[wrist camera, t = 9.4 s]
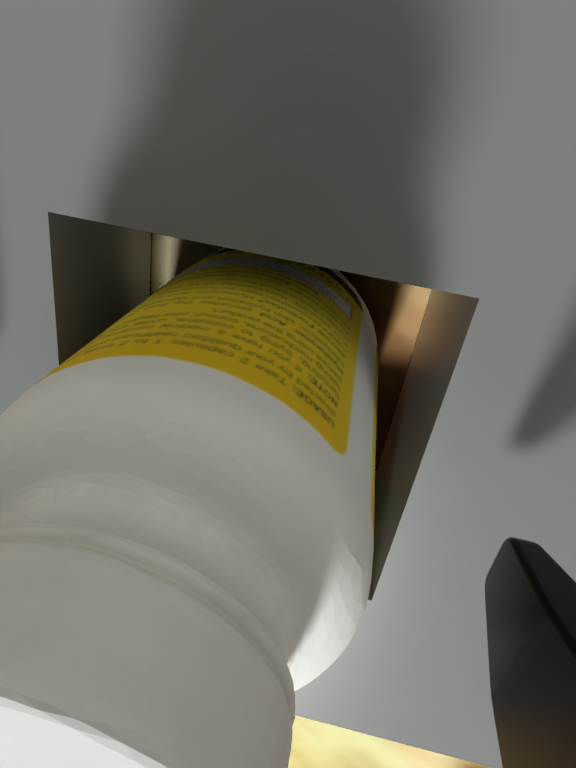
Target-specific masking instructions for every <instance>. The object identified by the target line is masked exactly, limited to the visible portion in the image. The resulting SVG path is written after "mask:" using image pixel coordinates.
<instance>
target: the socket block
mask: <svg viewBox="0 0 576 768" xmlns="http://www.w3.org/2000/svg"><path fill="white" fill-rule="evenodd" d="M151 233H156V234H161V235H166V236H171V237H176V238H181V239H186V240H191V241H196V242H201V243H206V244H211V245H216V246H221V247H226V248H230V249H235V250H240V251H245V252H250V253H255V254H260V255H265V256H270V257H275V258H280V259H285V260H290V261H295V262H300V263H305V264H310V265H315V266H320V267H325V268H330V269H335V270H340V271H345V272H350V273H355V274H360V275H365V276H370V277H375V278H380V279H385V280H390V281H395V282H400V283H405V284H410V285H415V286H420V287H425V288H430V289H432V292H431V295H430V298H429V302H428V305H427V308H426V312H425V315H424V318H423V321H422V325H421V328H420V331H419V334H418V338H417V341H416V344H415V347H414V351H413V354H412V357H411V360H410V364H409V367H408V370H407V373H406V377H405V380H404V383H403V387H402V390H401V393H400V396H399V400H398V403H397V406H396V409H395V413H394V416H393V419H392V422H391V426H390V429H389V432H388V435H387V439H386V442H385V445H384V448H383V452H382V455H381V458H380V462H379V465H378V468H377V471H376V475H375V497H374V551H373V563H372V579H371V585H370V591H369V597H368V601H367V605H366V609H365V611H364V614H363V617H362V619H361V622H360V624H359V626H358V628H357V630H356V632H355V633H354V635H353V637H352V639H351V641H350V643H349V644H348V646H347V647H346V648H345V650H344V651H343V652H342V653H341V655H340V656H339V657H338V658H337V659H336V660H335V661H334V662H333V663H332V664H331V666H329V667H328V668H327V669H326V670H325V671H324V672H323V673H321V674H320V675H319V676H318V677H316V678H315V679H314V680H313V681H311V682H310V683H308V684H306V685H305V686H303V687H301V688H300V689H298V690H296V691H294V692H295V715H297V716H301V717H304V718H308V719H312V720H316V721H319V722H323V723H327V724H331V725H334V726H338V727H342V728H346V729H350V730H353V731H357V732H361V733H365V734H368V735H372V736H376V737H380V738H383V739H387V740H391V741H395V742H398V743H402V744H406V745H410V746H413V747H417V748H421V749H425V750H428V751H432V752H436V753H440V754H443V755H447V756H451V757H455V758H459V759H462V760H466V761H470V762H474V763H477V764H481V765H485V766H489V767H492V768H502V762H501V756H500V750H499V744H498V738H497V732H496V726H495V720H494V714H493V707H492V700H491V691H490V679H489V662H488V645H487V628H486V611H485V594H484V586H485V579H486V576H487V573H488V571H489V569H490V567H491V565H492V563H493V561H494V559H495V557H496V555H497V553H498V551H499V549H500V547H501V545H502V543H503V542H504V541H505V540H506V539H507V538H510V537H514V538H519V539H523V540H527V541H532V542H535V543H537V544H539V545H540V546H541V547H542V548H543V549H544V550H545V551H546V552H547V553H548V554H549V555H550V556H551V557H552V558H553V559H554V560H555V561H556V562H557V563H558V564H559V565H560V566H561V567H562V568H563V569H564V570H565V572H566V573H567V574H568V575H569V576H570V577H571V578H572V579H573V580H574V581H575V582H576V0H0V415H1V414H2V413H3V412H4V411H5V409H7V408H8V407H9V406H10V405H11V404H12V403H13V402H15V401H16V400H17V399H18V398H19V397H20V396H21V395H22V394H23V393H24V392H26V391H27V390H28V389H29V388H31V387H32V386H33V385H34V384H36V383H37V382H38V381H40V380H41V379H42V378H43V377H45V376H46V375H47V374H49V373H50V372H51V371H52V370H54V369H55V368H56V367H58V366H59V365H60V364H62V363H63V362H64V361H66V360H67V359H68V358H70V357H71V356H72V355H74V354H75V353H76V352H78V351H79V350H80V349H82V348H83V347H84V346H86V345H87V344H88V343H90V342H91V341H92V340H94V339H95V338H96V337H97V336H99V335H100V334H101V333H103V332H104V331H105V330H107V329H108V328H109V327H110V326H112V325H113V324H114V323H116V322H117V321H118V320H120V319H121V318H122V317H124V316H125V315H126V314H127V313H129V312H130V311H131V310H133V309H134V308H135V307H137V306H138V305H139V304H141V303H142V302H143V301H145V300H146V299H147V298H148V297H150V265H151Z"/></svg>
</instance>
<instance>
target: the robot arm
mask: <svg viewBox="0 0 576 768" xmlns="http://www.w3.org/2000/svg"><path fill="white" fill-rule="evenodd" d="M484 594H485V611H486V628H487V645H488V662H489V679H490V691H491V700H492V707H493V714H494V720H495V726H496V732H497V738H498V744H499V750H500V756H501V762H502V768H576V582H575V581H574V580H573V579H572V578H571V577H570V576H569V575H568V574H567V573H566V572H565V570H564V569H563V568H562V567H561V566H560V565H559V564H558V563H557V562H556V561H555V560H554V559H553V558H552V557H551V556H550V555H549V554H548V553H547V552H546V551H545V550H544V549H543V548H542V547H541V546H540V545H539V544H537V543H535V542H532V541H527V540H523V539H519V538H514V537H510V538H507V539H506V540H505V541H504V542H503V543H502V545H501V547H500V549H499V551H498V553H497V555H496V557H495V559H494V561H493V563H492V565H491V567H490V569H489V571H488V573H487V576H486V579H485V586H484Z"/></svg>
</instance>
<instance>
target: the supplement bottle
mask: <svg viewBox="0 0 576 768" xmlns="http://www.w3.org/2000/svg"><path fill="white" fill-rule="evenodd" d="M377 387H378V349H377V339H376V333H375V329H374V325H373V322H372V319H371V316H370V314H369V311H368V309H367V307H366V305H365V303H364V301H363V300H362V298H361V297H360V295H359V294H358V292H357V291H356V289H355V288H354V287H353V285H352V284H351V283H350V282H349V281H348V280H347V279H346V278H345V277H344V276H343V275H342V274H341V273H340V272H339V271H338V270H335V269H330V268H325V267H320V266H315V265H310V264H305V263H300V262H295V261H290V260H285V259H280V258H275V257H270V256H265V255H260V254H255V253H250V252H245V251H240V250H235V249H230V248H226V247H225V248H223V249H220V250H218V251H216V252H214V253H212V254H210V255H208V256H206V257H204V258H202V259H201V260H199V261H198V262H196V263H194V264H193V265H191V266H190V267H188V268H187V269H186V270H184V271H182V272H181V273H180V274H178V275H177V276H176V277H174V278H173V279H172V280H171V281H169V282H168V283H167V284H166V285H164V286H163V287H161V288H160V289H158V290H157V291H156V292H155V293H153V294H152V295H151V296H150V297H148V298H147V299H146V300H145V301H143V302H142V303H141V304H139V305H138V306H137V307H135V308H134V309H133V310H131V311H130V312H129V313H127V314H126V315H125V316H124V317H122V318H121V319H120V320H118V321H117V322H116V323H114V324H113V325H112V326H110V327H109V328H108V329H107V330H105V331H104V332H103V333H101V334H100V335H99V336H97V337H96V338H95V339H94V340H92V341H91V342H90V343H88V344H87V345H86V346H84V347H83V348H82V349H80V350H79V351H78V352H76V353H75V354H74V355H72V356H71V357H70V358H68V359H67V360H66V361H64V362H63V363H62V364H60V365H59V366H58V367H56V368H55V369H54V370H52V371H51V372H50V373H49V374H47V375H46V376H45V377H43V378H42V379H41V380H40V381H38V382H37V383H36V384H34V385H33V386H32V387H31V388H29V389H28V390H27V391H26V392H24V393H23V394H22V395H21V396H20V397H19V398H18V399H17V400H16V401H15V402H13V403H12V404H11V405H10V406H9V407H8V408H7V409H5V411H4V412H3V413H2V414H1V415H0V768H288V763H289V756H290V750H291V741H292V725H293V722H294V719H295V692H294V691H296V690H298V689H300V688H301V687H303V686H305V685H306V684H308V683H310V682H311V681H313V680H314V679H315V678H316V677H318V676H319V675H320V674H321V673H323V672H324V671H325V670H326V669H327V668H328V667H329V666H331V664H332V663H333V662H334V661H335V660H336V659H337V658H338V657H339V656H340V655H341V653H342V652H343V651H344V650H345V648H346V647H347V646H348V644H349V643H350V641H351V639H352V637H353V635H354V633H355V632H356V630H357V628H358V626H359V624H360V622H361V619H362V617H363V614H364V611H365V609H366V605H367V601H368V597H369V591H370V585H371V579H372V563H373V551H374V497H375V454H376V426H377Z"/></svg>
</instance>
